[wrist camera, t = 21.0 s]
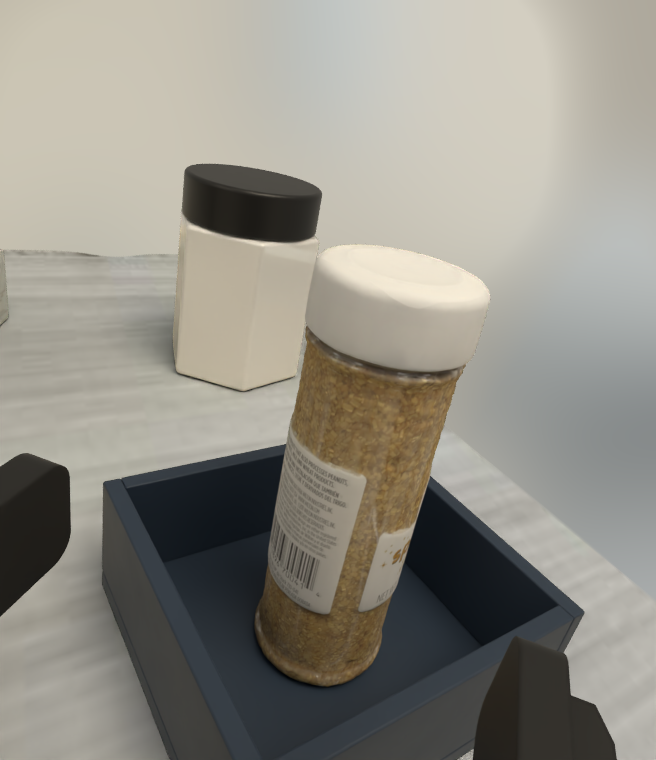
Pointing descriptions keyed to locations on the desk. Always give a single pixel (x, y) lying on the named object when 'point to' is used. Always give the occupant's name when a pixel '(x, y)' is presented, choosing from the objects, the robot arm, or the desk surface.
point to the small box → (3, 289)
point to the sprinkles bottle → (361, 450)
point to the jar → (243, 274)
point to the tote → (245, 589)
